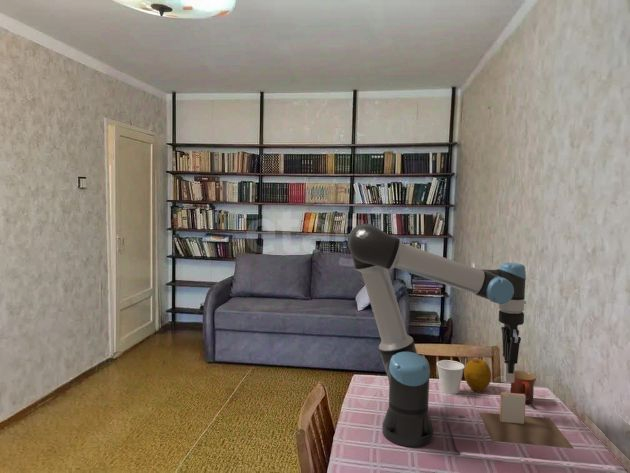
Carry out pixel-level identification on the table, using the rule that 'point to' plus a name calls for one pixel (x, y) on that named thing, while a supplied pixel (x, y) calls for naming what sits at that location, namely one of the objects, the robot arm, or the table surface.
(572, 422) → the table surface
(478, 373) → the apple
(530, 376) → the mug
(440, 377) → the cup
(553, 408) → the table surface
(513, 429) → the board
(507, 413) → the tile
